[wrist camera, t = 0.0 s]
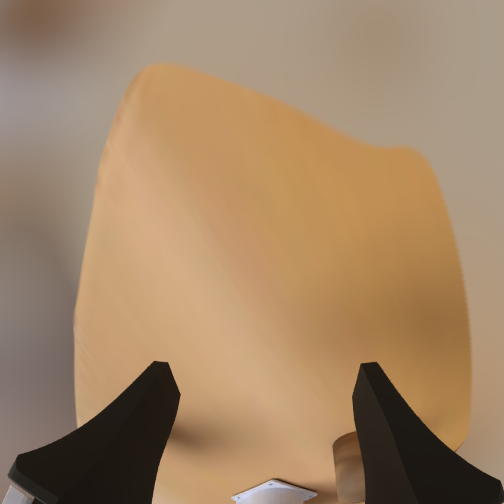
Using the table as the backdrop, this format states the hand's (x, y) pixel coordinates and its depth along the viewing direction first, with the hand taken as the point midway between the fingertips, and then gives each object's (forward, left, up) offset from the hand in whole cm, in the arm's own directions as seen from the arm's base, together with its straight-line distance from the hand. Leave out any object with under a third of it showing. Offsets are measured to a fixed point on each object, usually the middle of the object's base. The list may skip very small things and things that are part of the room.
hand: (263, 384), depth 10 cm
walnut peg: (-9, -18, -11) cm, 23 cm away
